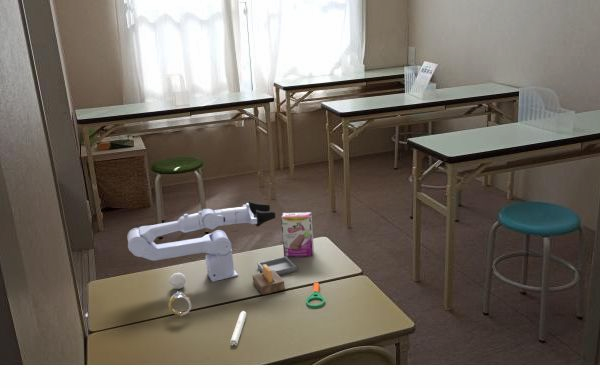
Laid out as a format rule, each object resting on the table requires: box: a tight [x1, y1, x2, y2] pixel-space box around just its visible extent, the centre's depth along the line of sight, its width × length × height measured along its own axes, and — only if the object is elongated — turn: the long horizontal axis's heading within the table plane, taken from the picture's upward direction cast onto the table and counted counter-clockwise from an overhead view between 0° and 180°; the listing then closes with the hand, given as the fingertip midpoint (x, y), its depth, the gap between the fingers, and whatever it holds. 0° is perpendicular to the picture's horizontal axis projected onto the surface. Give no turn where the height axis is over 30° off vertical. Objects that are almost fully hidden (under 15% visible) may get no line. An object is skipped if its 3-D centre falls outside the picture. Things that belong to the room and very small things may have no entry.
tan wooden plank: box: [262, 264, 273, 283], centre depth 201 cm, size 1×6×7 cm, turn 22°
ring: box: [167, 291, 192, 317], centre depth 186 cm, size 7×3×8 cm, turn 87°
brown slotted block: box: [251, 270, 286, 296], centre depth 201 cm, size 8×10×3 cm
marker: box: [229, 310, 247, 346], centre depth 176 cm, size 18×2×2 cm, turn 176°
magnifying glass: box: [305, 282, 326, 309], centre depth 192 cm, size 15×6×2 cm, turn 176°
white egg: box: [169, 272, 187, 290], centre depth 205 cm, size 8×6×6 cm
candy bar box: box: [280, 211, 315, 258], centre depth 223 cm, size 11×5×16 cm, turn 84°
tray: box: [257, 255, 297, 276], centre depth 214 cm, size 11×10×2 cm
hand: (272, 211), depth 212 cm, fingers open, 7 cm apart
